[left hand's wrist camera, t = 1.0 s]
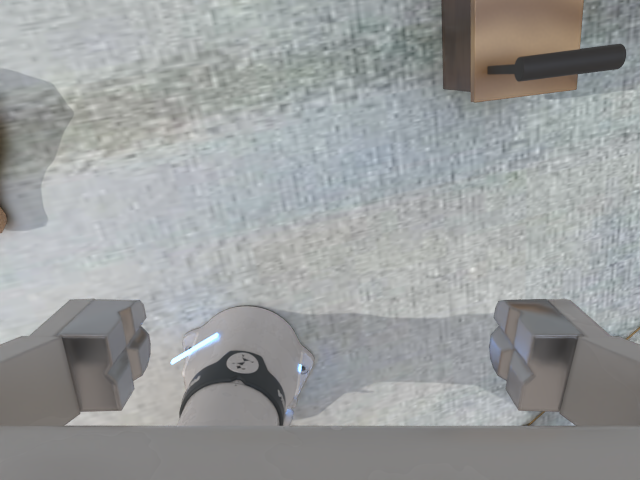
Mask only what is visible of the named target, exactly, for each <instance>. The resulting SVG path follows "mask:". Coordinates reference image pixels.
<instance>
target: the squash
mask: <svg viewBox="0 0 640 480" xmlns="http://www.w3.org/2000/svg"><path fill="white" fill-rule="evenodd" d="M6 223H7V218H6V214H5V213H4V211H3V210H2V209H1V207H0V233H2V232H3V230H4V227H5V225H6Z"/></svg>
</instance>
